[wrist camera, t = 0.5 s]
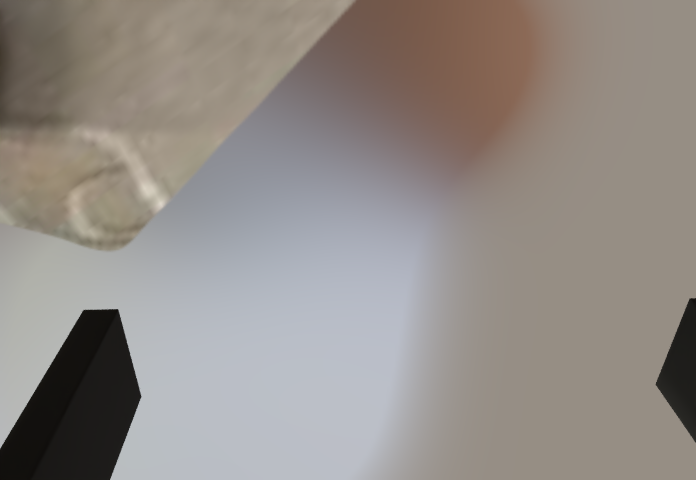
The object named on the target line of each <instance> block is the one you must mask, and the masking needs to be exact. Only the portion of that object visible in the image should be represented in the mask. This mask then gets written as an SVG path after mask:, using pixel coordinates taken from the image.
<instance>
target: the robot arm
mask: <svg viewBox="0 0 696 480" xmlns="http://www.w3.org/2000/svg"><path fill="white" fill-rule="evenodd" d="M656 386H657V387H658V389H659V390H660V391H661V393H662V394H663V396H664V397H665V399H666V400H667V402H668V403H669V405H670V406H671V407H672V409H673V410H674V412H675V413H676V415H677V416H678V418H679V419H680V420H681V422H682V423H683V425H684V426H685V428H686V429H687V430H688V432H689V433H690V435H691V436H692V438H693V439H694V441H695V442H696V298H695V299H693V298H691V299H689V302H688V304H687V307H686V309H685V312H684V314H683V317H682V319H681V322H680V325H679V327H678V329H677V332H676V334H675V337H674V340H673V342H672V344H671V347H670V349H669V352H668V354H667V357H666V360H665V362H664V365H663V367H662V369H661V372H660V374H659V377H658V380H657V382H656ZM140 399H141V394H140V390H139V386H138V382H137V378H136V375H135V371H134V367H133V363H132V359H131V356H130V352H129V348H128V345H127V341H126V337H125V333H124V329H123V326H122V322H121V318H120V314H119V311H118V309H109V310H84V311H83V312H82V314H81V315H80V317H79V319H78V320H77V322H76V324H75V325H74V327H73V329H72V330H71V332H70V334H69V335H68V337H67V339H66V340H65V342H64V344H63V345H62V347H61V349H60V350H59V352H58V354H57V355H56V357H55V359H54V360H53V362H52V364H51V365H50V367H49V369H48V370H47V372H46V374H45V375H44V377H43V379H42V380H41V382H40V383H39V385H38V387H37V389H36V390H35V392H34V394H33V395H32V397H31V399H30V400H29V402H28V403H27V405H26V407H25V409H24V410H23V412H22V413H21V415H20V417H19V419H18V420H17V422H16V423H15V425H14V427H13V428H12V430H11V432H10V434H9V435H8V437H7V438H6V440H5V442H4V444H3V445H2V447H1V448H0V480H110V478H111V476H112V473H113V470H114V468H115V465H116V462H117V460H118V457H119V454H120V452H121V449H122V446H123V443H124V441H125V439H126V436H127V433H128V431H129V428H130V425H131V423H132V420H133V417H134V415H135V412H136V409H137V407H138V404H139V401H140Z"/></svg>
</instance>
